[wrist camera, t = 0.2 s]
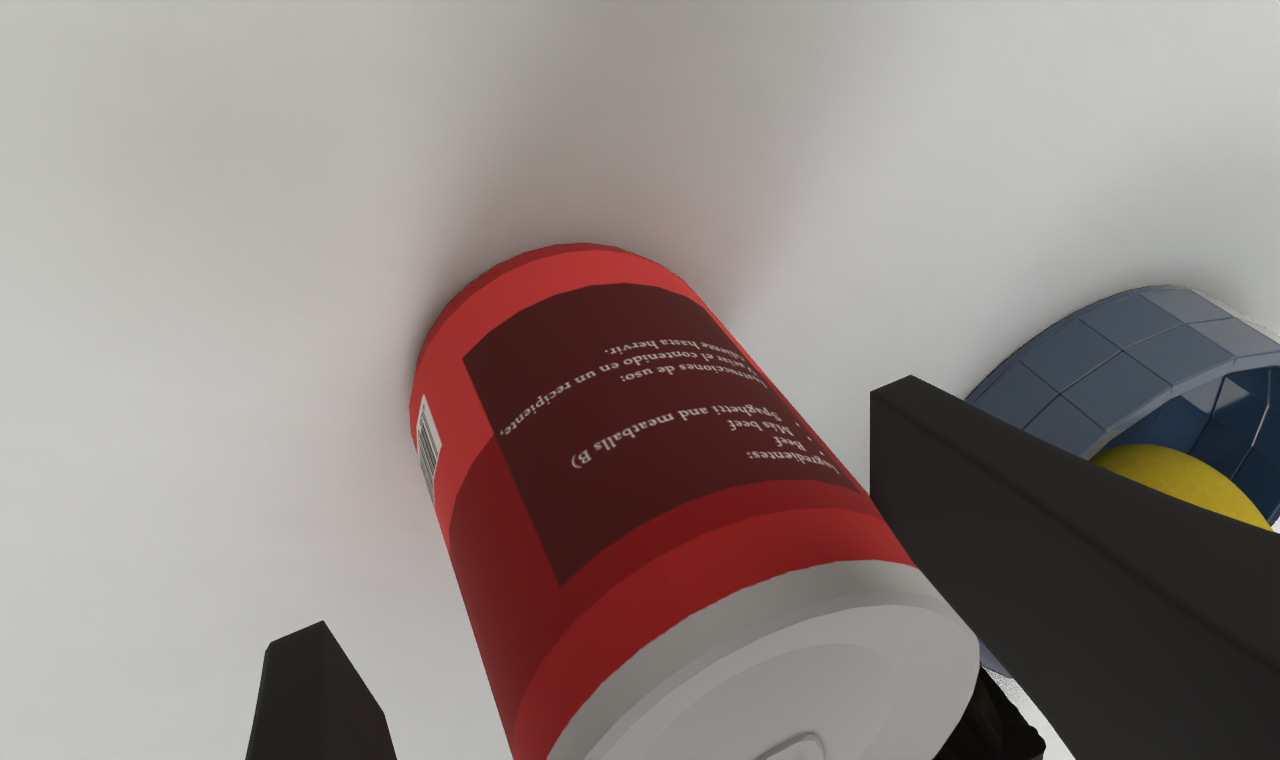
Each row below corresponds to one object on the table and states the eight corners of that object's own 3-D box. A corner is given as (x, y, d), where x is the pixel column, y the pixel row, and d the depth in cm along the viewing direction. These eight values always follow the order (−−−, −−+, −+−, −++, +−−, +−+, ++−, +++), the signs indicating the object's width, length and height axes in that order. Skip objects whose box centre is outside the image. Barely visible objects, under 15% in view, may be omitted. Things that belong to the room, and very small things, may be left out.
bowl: (1181, 509, 40) (1263, 577, 37) (894, 647, 37) (957, 732, 34) (1277, 225, 31) (1396, 285, 28) (904, 381, 28) (991, 466, 25)
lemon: (1084, 384, 31) (1299, 553, 25) (1162, 417, 34) (1370, 574, 28) (981, 508, 33) (1158, 691, 27) (1064, 529, 36) (1239, 697, 30)
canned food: (547, 541, 26) (721, 939, 18) (323, 400, 21) (427, 876, 12) (758, 359, 25) (1042, 692, 17) (580, 161, 20) (873, 510, 12)
